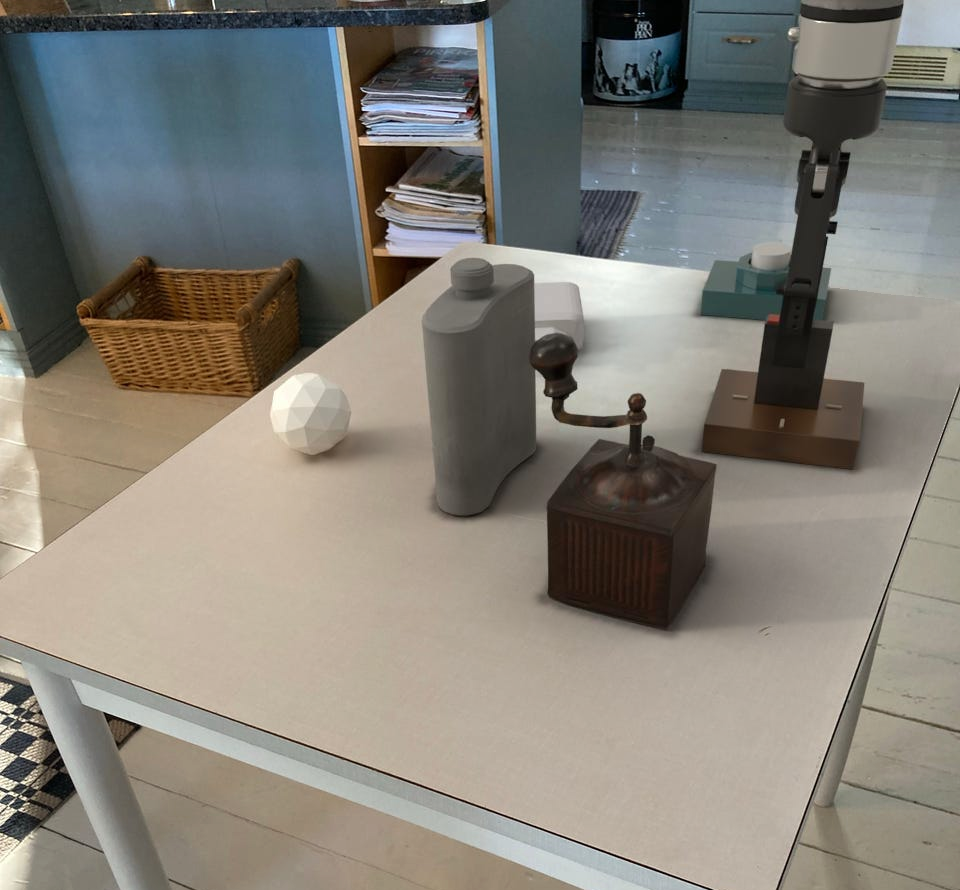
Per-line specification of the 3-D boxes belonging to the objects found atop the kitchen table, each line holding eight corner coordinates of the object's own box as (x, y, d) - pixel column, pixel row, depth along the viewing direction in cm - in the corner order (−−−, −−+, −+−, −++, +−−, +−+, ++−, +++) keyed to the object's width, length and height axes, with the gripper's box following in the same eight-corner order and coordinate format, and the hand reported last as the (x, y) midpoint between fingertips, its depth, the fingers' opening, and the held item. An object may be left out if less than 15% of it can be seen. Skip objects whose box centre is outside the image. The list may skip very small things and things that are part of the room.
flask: (490, 433, 103) (481, 230, 91) (544, 443, 101) (542, 237, 88) (419, 508, 93) (398, 293, 81) (477, 522, 91) (464, 302, 78)
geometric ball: (306, 481, 103) (249, 438, 97) (312, 419, 107) (256, 375, 101) (365, 453, 100) (308, 407, 94) (368, 390, 103) (314, 342, 98)
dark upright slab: (819, 400, 99) (834, 318, 94) (818, 409, 98) (833, 326, 93) (755, 394, 101) (767, 313, 95) (753, 402, 99) (765, 320, 94)
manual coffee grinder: (712, 556, 86) (737, 352, 74) (668, 633, 78) (687, 421, 67) (543, 515, 92) (542, 320, 80) (487, 583, 84) (476, 380, 73)
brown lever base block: (858, 409, 104) (865, 380, 102) (853, 469, 95) (859, 439, 93) (718, 395, 107) (721, 366, 105) (700, 451, 99) (704, 422, 97)
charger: (502, 379, 112) (501, 323, 124) (587, 376, 112) (578, 320, 124) (501, 338, 109) (500, 284, 121) (587, 334, 109) (579, 281, 120)
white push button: (790, 260, 123) (793, 243, 122) (786, 274, 120) (789, 256, 118) (752, 257, 124) (755, 240, 123) (748, 271, 121) (750, 253, 120)
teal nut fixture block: (827, 292, 127) (834, 251, 123) (821, 325, 119) (828, 282, 116) (712, 283, 130) (716, 243, 127) (700, 314, 123) (704, 273, 120)
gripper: (802, 43, 91) (768, 280, 105) (773, 115, 73) (736, 389, 87) (892, 45, 89) (844, 286, 103) (884, 119, 71) (828, 399, 85)
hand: (795, 334), depth 95 cm, fingers open, 13 cm apart
